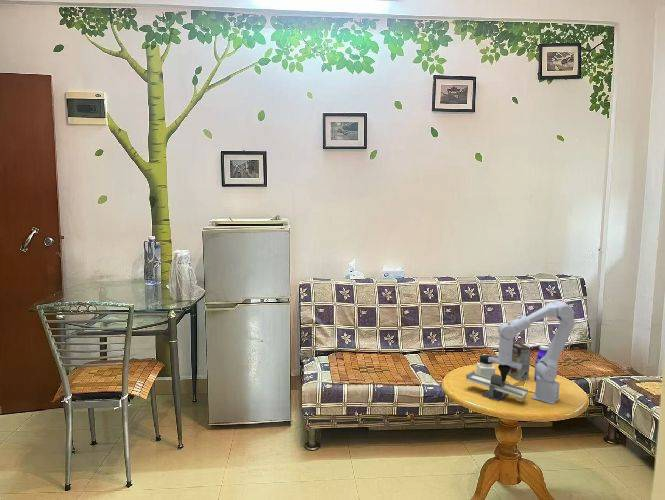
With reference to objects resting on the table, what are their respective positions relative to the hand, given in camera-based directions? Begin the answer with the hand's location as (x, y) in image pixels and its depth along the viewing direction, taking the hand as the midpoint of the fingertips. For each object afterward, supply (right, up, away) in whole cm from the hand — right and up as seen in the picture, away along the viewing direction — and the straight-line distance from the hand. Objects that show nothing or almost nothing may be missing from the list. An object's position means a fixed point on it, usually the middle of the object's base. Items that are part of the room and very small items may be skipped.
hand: (503, 381), depth 234 cm
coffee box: (+16, -5, +27) cm, 31 cm away
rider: (-2, -2, +2) cm, 4 cm away
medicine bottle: (-2, -5, +22) cm, 23 cm away
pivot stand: (-3, -7, +3) cm, 8 cm away
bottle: (+25, -6, +21) cm, 33 cm away
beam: (-3, -5, +3) cm, 7 cm away
